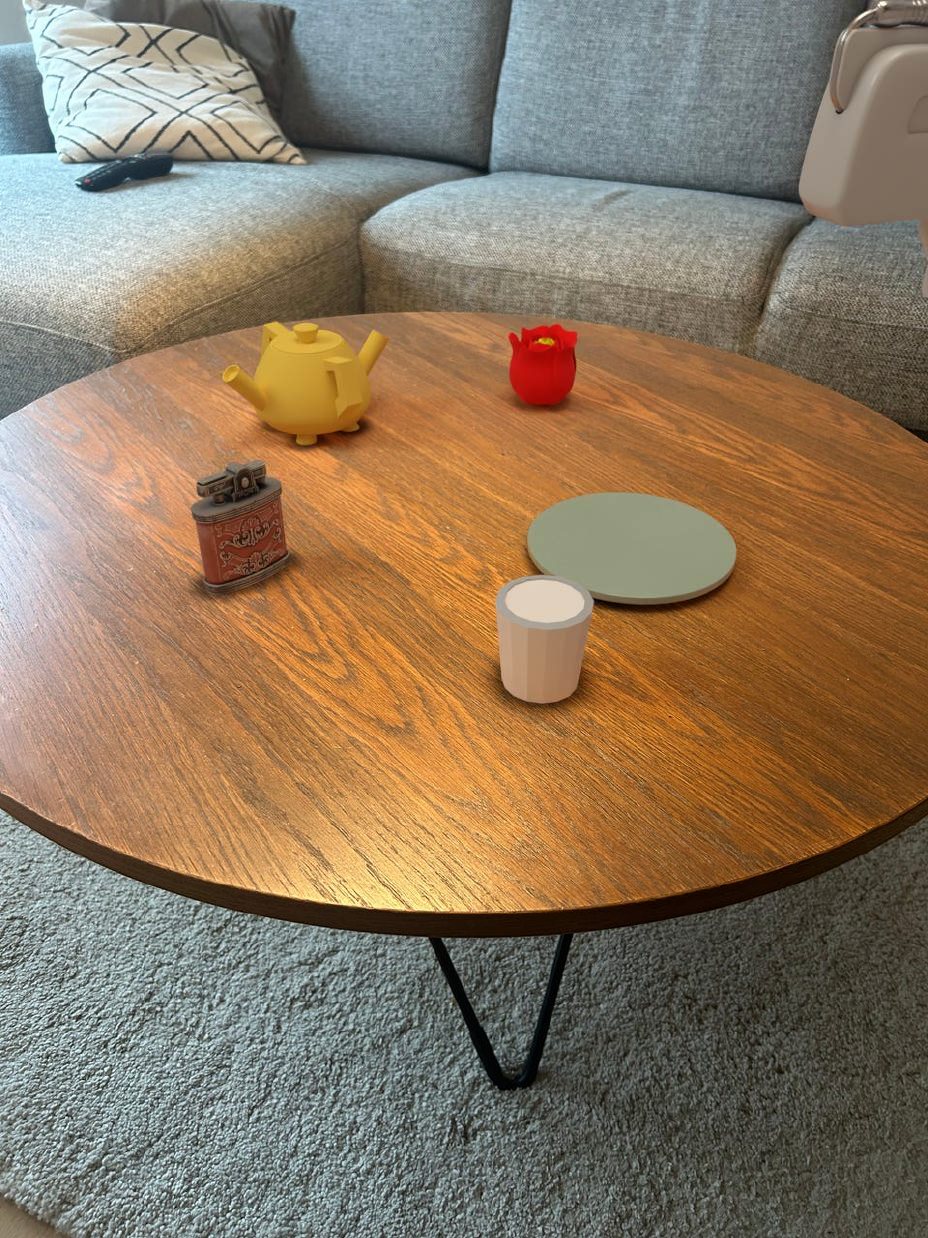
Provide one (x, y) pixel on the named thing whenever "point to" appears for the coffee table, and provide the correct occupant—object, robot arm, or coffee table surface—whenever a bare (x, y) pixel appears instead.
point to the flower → (543, 364)
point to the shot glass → (542, 636)
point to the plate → (632, 547)
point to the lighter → (240, 527)
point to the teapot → (309, 380)
